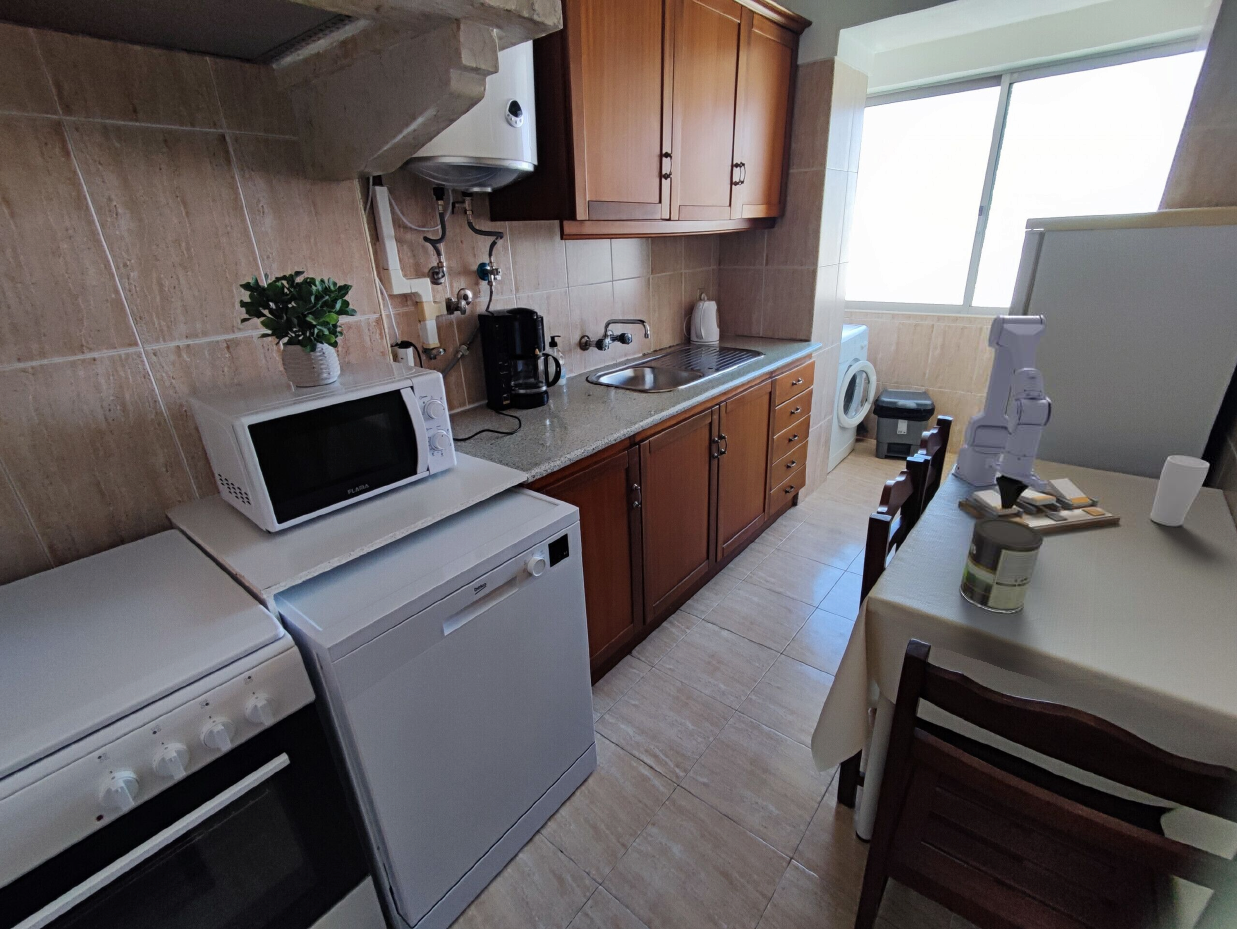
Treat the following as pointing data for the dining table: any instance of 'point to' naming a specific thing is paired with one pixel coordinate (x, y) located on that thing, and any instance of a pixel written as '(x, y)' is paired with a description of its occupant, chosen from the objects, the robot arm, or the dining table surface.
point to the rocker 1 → (993, 502)
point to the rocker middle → (1036, 498)
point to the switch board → (1047, 514)
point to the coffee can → (1000, 563)
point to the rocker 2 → (1069, 492)
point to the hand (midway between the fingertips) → (1006, 507)
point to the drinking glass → (1178, 489)
